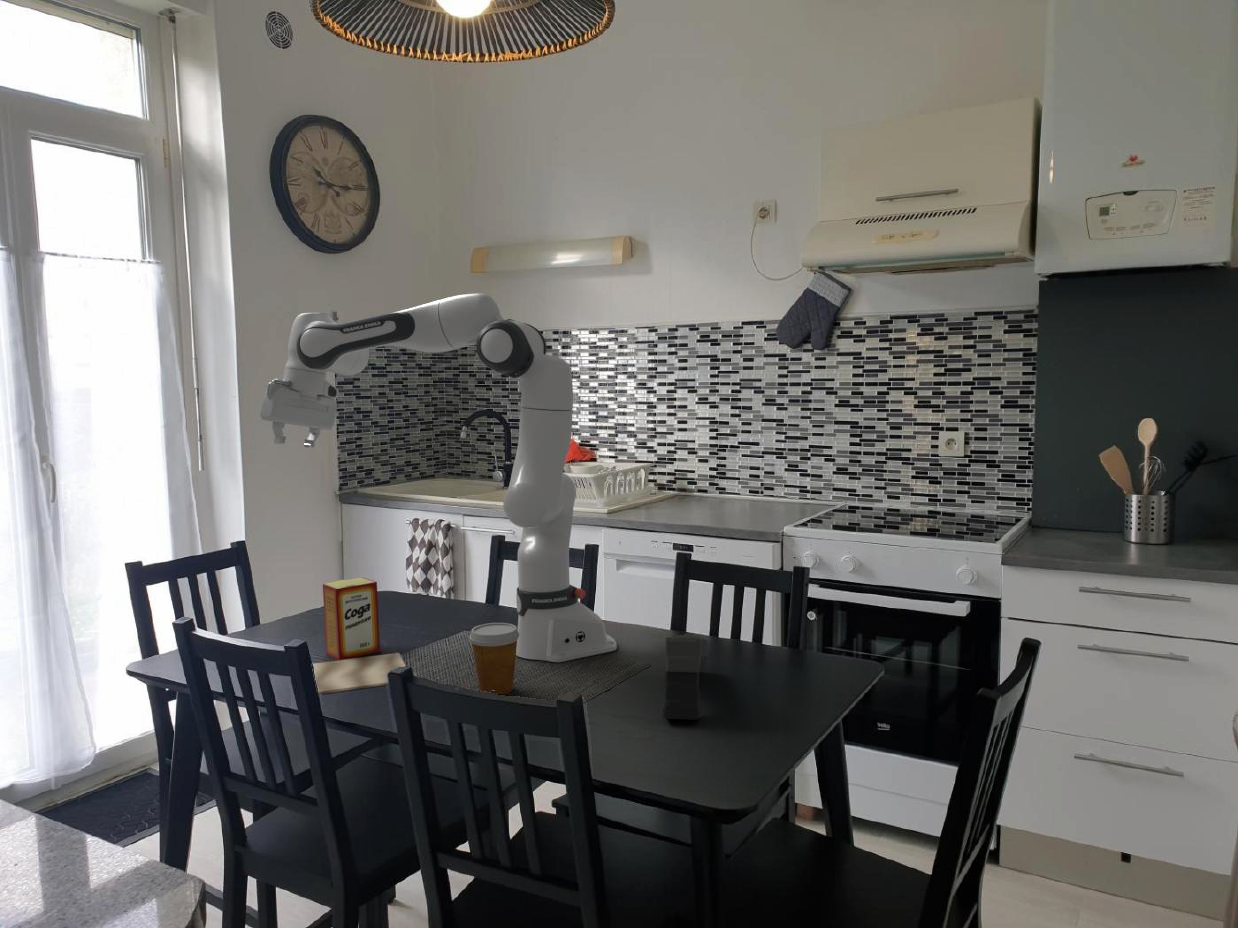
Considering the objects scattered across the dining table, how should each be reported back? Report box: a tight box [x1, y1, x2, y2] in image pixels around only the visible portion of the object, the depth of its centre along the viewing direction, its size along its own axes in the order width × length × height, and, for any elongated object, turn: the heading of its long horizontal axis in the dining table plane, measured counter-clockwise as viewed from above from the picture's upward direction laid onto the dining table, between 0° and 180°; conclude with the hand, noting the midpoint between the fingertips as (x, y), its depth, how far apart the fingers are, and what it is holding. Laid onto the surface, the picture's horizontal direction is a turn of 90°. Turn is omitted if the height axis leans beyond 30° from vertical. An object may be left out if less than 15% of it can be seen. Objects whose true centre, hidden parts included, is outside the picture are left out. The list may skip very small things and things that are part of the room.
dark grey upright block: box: [662, 632, 709, 721], centre depth 172 cm, size 7×29×15 cm, turn 172°
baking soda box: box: [322, 577, 381, 661], centre depth 203 cm, size 10×6×16 cm
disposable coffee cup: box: [468, 622, 519, 695], centre depth 177 cm, size 10×10×12 cm
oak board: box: [312, 652, 407, 695], centre depth 189 cm, size 18×19×1 cm
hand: (294, 445), depth 207 cm, fingers open, 8 cm apart
